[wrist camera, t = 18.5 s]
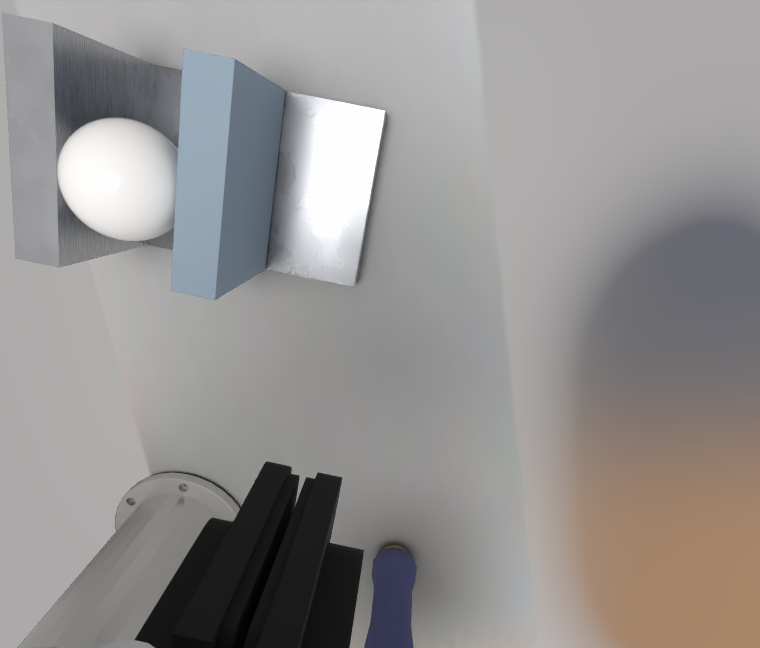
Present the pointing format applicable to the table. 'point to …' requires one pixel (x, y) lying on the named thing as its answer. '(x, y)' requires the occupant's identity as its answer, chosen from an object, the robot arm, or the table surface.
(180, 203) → the vise jaw
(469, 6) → the table surface
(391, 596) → the rubber mallet
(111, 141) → the lightbulb
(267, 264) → the vise base
